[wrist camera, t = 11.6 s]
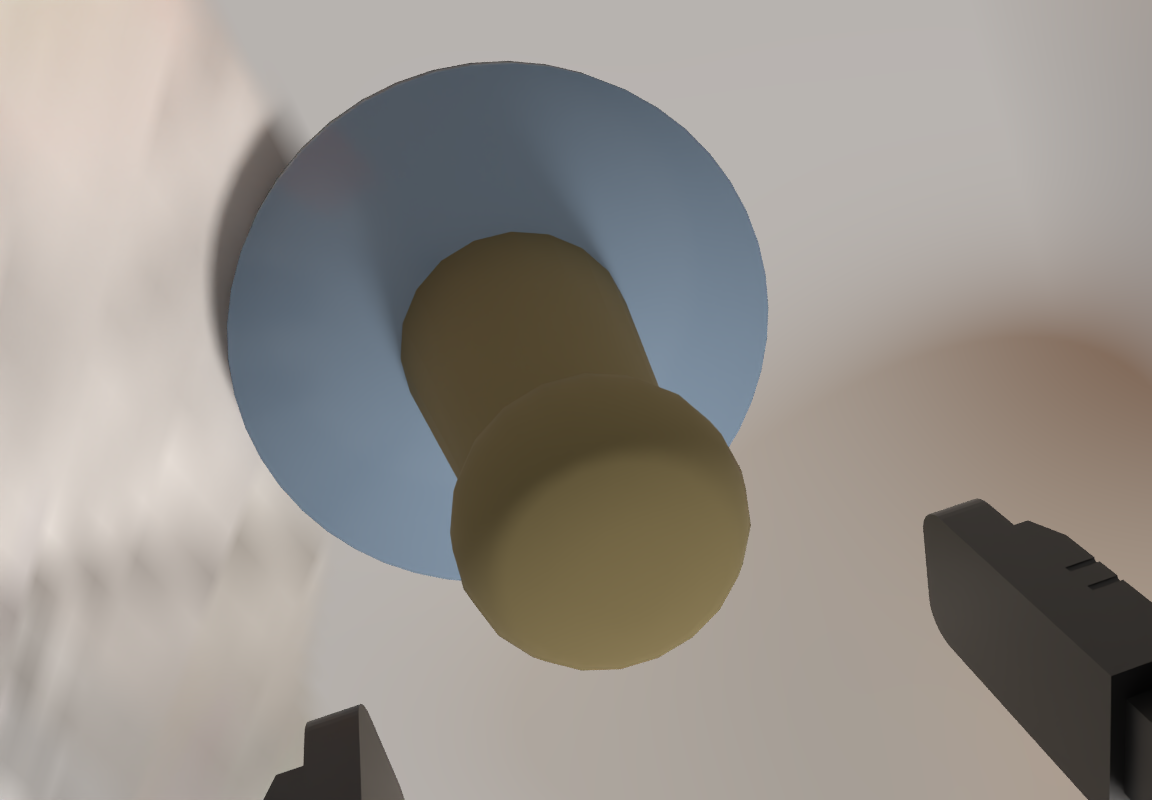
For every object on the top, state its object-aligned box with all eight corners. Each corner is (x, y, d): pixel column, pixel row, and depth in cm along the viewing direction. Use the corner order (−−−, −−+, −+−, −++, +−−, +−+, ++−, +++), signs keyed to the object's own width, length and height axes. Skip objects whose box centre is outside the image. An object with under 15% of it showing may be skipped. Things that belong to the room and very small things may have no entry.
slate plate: (139, 147, 23) (131, 154, 22) (709, -3, 24) (722, -3, 24) (336, 623, 29) (335, 644, 28) (786, 480, 30) (799, 496, 29)
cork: (660, 398, 27) (839, 639, 17) (455, 486, 27) (518, 781, 17) (586, 193, 25) (748, 337, 15) (359, 288, 24) (367, 500, 14)
